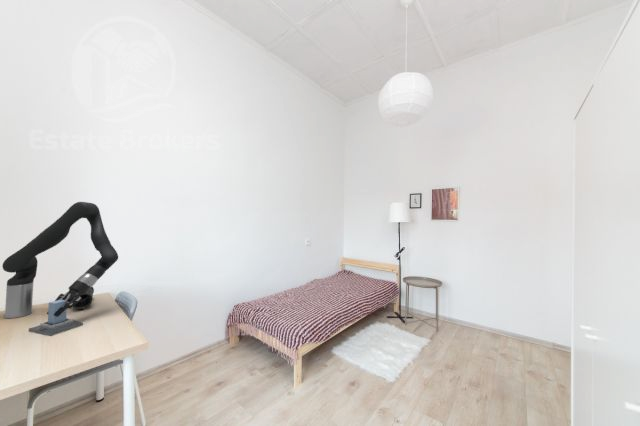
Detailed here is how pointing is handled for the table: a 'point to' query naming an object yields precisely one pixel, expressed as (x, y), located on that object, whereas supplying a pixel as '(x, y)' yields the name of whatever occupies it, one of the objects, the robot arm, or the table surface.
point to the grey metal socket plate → (55, 327)
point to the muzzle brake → (85, 300)
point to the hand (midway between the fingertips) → (52, 315)
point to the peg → (53, 308)
